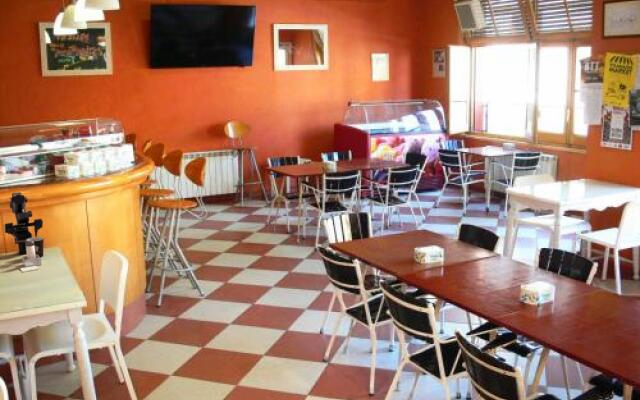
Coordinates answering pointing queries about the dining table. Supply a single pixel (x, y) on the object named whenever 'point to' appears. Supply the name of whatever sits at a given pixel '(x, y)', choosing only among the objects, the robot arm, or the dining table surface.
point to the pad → (29, 268)
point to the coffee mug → (37, 245)
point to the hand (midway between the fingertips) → (27, 238)
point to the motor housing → (32, 261)
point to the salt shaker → (30, 249)
